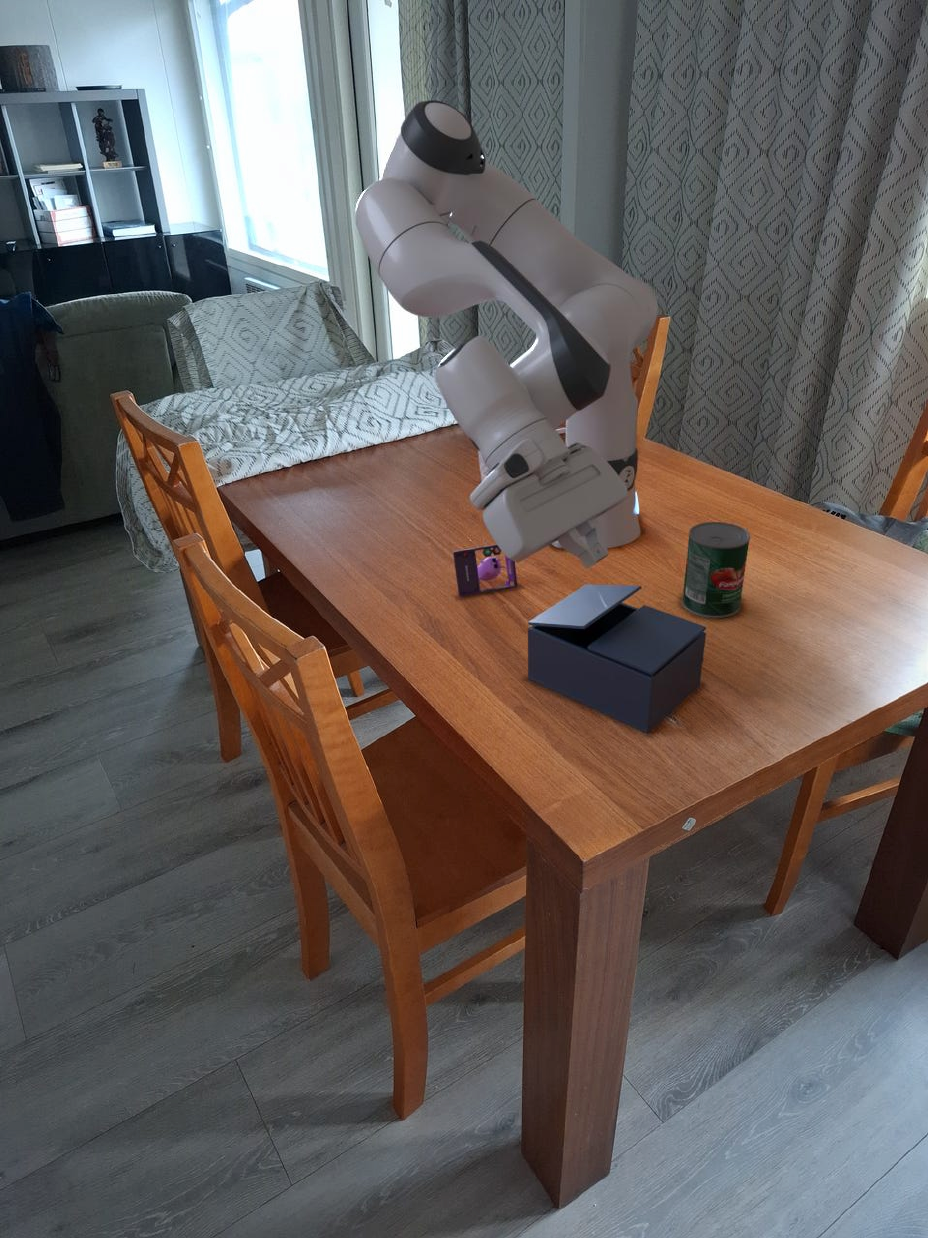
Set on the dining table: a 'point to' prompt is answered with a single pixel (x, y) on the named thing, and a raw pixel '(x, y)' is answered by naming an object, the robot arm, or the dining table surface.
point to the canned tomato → (715, 569)
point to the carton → (621, 663)
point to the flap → (584, 606)
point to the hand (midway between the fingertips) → (598, 561)
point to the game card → (480, 570)
